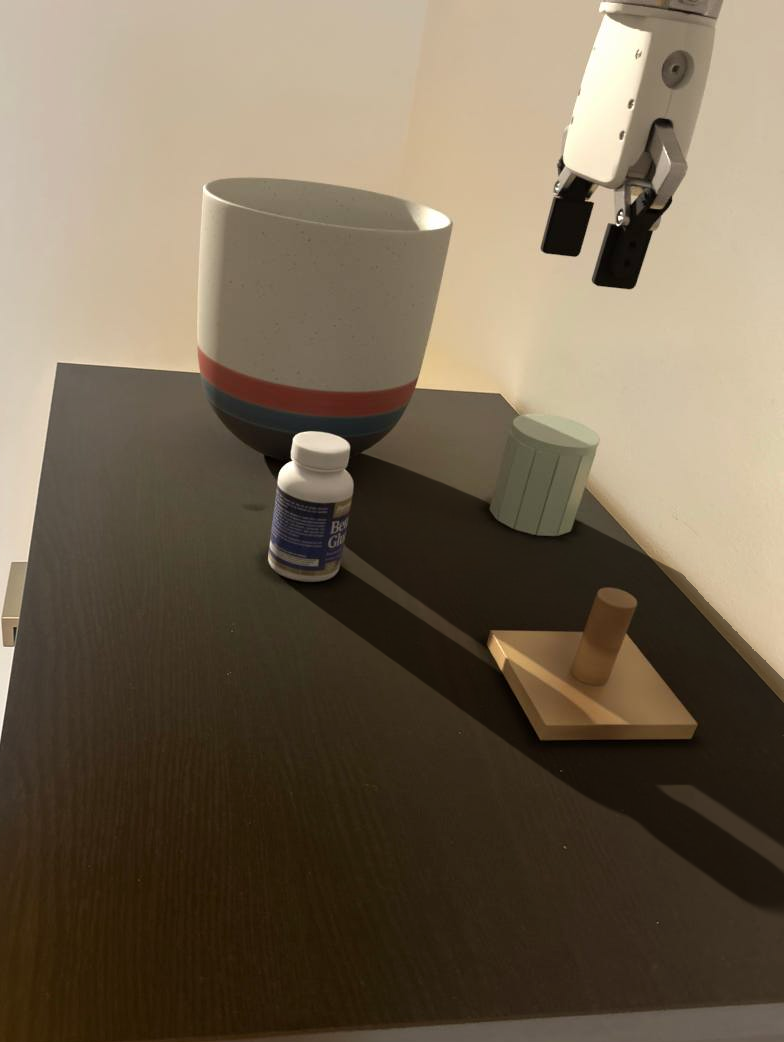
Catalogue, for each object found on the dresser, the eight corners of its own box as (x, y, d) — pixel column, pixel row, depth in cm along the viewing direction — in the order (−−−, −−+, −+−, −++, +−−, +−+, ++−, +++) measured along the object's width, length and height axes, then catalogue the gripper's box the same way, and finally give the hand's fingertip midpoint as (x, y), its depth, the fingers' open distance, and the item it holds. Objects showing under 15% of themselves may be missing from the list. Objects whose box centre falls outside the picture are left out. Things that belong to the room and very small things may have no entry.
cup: (553, 500, 86) (578, 416, 81) (585, 537, 80) (614, 449, 75) (479, 496, 84) (501, 411, 80) (506, 534, 78) (531, 444, 74)
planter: (376, 415, 98) (415, 193, 86) (430, 502, 82) (487, 242, 70) (181, 403, 94) (194, 168, 82) (196, 492, 77) (215, 213, 66)
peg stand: (620, 646, 65) (653, 559, 62) (691, 739, 57) (734, 645, 54) (486, 644, 63) (511, 554, 60) (540, 740, 55) (574, 643, 51)
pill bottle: (334, 590, 67) (356, 463, 61) (260, 576, 67) (276, 448, 62) (343, 556, 71) (364, 434, 66) (274, 543, 72) (289, 421, 66)
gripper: (791, 7, 55) (685, 306, 64) (653, 2, 69) (583, 248, 78) (676, -15, 53) (585, 296, 62) (558, -15, 67) (499, 238, 76)
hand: (584, 269), depth 70 cm, fingers open, 9 cm apart
